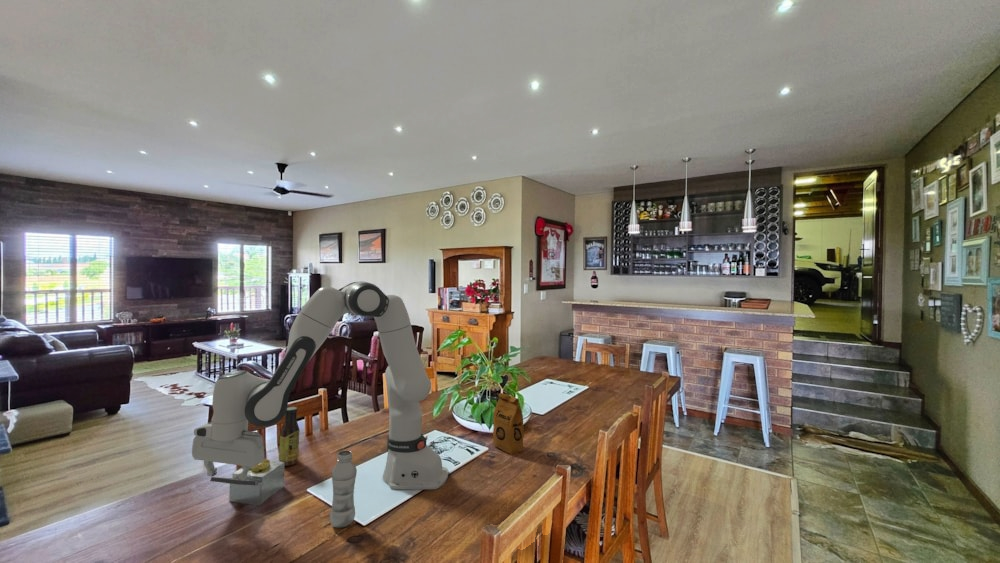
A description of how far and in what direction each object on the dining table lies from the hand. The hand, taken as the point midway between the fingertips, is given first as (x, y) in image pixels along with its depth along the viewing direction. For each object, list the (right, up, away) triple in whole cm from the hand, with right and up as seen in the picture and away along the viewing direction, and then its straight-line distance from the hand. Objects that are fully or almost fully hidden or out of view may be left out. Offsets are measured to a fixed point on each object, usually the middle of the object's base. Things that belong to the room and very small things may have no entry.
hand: (227, 477), depth 115 cm
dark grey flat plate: (0, -3, +2) cm, 4 cm away
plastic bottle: (+34, -12, -2) cm, 36 cm away
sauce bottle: (+1, -11, +33) cm, 35 cm away
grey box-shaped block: (+2, -11, +13) cm, 17 cm away
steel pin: (+2, -10, +12) cm, 16 cm away
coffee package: (+81, -13, +51) cm, 97 cm away
